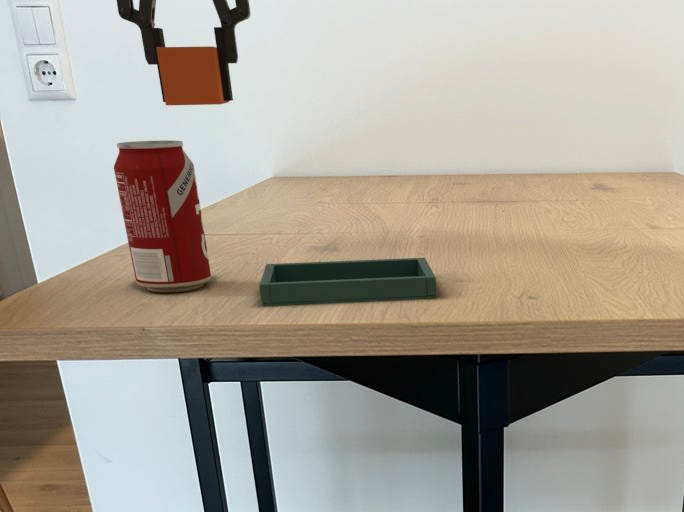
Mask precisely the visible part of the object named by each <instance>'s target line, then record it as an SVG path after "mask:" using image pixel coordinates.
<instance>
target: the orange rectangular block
mask: <svg viewBox="0 0 684 512" xmlns="http://www.w3.org/2000/svg"><path fill="white" fill-rule="evenodd" d="M156 48H157V54H158V60H159V67H160V73H161V79H162V85H163V91H164V97H165V102H164V103H165V106H207V105H224V104H228V103H230V101H224V97H223V90H222V83H221V75H220V68H219V61H218V53H217V48H216V46H213V45H212V46H165V47H156Z"/></svg>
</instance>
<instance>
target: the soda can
mask: <svg viewBox="0 0 684 512" xmlns="http://www.w3.org/2000/svg"><path fill="white" fill-rule="evenodd" d="M116 147H117V148H118V154H117V157H116V159H115V163H114V164H113V172H114V177H115V182H116V187H117V191H118V196H119V203H120V207H121V212H122V218H123V222H124V227H125V234H126V237H127V243H128V247H129V252H130V257H131V262H132V268H133V273H134V278H135V283H136V284H137V285H138V286H141V287H144V288H146V290H148V291H149V292H153V293H161V294H162V293H163V294H164V293H165V294H167V293H168V294H170V293H171V294H172V293H183V292H190V291H195V290H198V289H201V288H202V287H204V284H205V283H207V282H209V281H210V280H211V279H212V273H211V267H210V261H209V255H208V254H209V253H208V248H207V242H206V241H207V240H206V233H205V228H204V223H203V214H202V209H201V208H202V207H201V203H200V195H199V190H198V184H197V177H196V170H195V164H194V163H193V161H192V160H191V158H190V157H189V155H187V153H186V151H185V150H184V148H183V147H184V142H183V141H182V140H138V141H137V140H136V141H124V142H117V143H116Z"/></svg>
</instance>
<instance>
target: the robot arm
mask: <svg viewBox="0 0 684 512" xmlns="http://www.w3.org/2000/svg"><path fill="white" fill-rule="evenodd" d="M234 1H235V7H233V8H231V7H230V5H229V2H228V0H212V3H213V5H214V9H215V12H216V13H217V16H218V19H219V23H220V26H214V27H213V33H214V40H215V47H216V48H217V53H218V61H219V68H220V75H221V83H222V90H223V97H224V101H229V102H232V101H234V96H233V89H232V81H231V75H230V67H229V65H230V64H238V60H239V54H238V45H237V37H236V27H237V25H238V24H240V23H241V22H242V23H243V22H244V21H246V20H249V19H250V18H251V8H250V0H234ZM156 5H157V0H139V1H138V9H137V8H135V5H134V0H116V7H117V13H118V15H119V17H120V18H121V19H122V20H125V21H127V22H130V23H133V24H134V25H136V26H137V27H138V28H139V30H140V34H141V35H140V36H141V40H142V41H141V42H142V46H143V53H144V58H145V61H146V63H147V65H149V66H155V65H156V66H157V72H158V73H157V74H158V79H159V86H160V91H161V97H162V102H163V103H165V97H164V91H163V85H162V79H161V73H160V67H159V60H158V54H157V48H156V47H166V42H165V37H164V30H163V28H161V27H155V26H156V23H155V17H156V7H157V6H156Z"/></svg>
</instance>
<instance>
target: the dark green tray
mask: <svg viewBox="0 0 684 512" xmlns="http://www.w3.org/2000/svg"><path fill="white" fill-rule="evenodd" d="M258 286H259V293H260V302H261V306H262V307H279V306H281V307H282V306H299V305H300V306H301V305H322V304H324V305H325V304H346V303H366V302H367V303H368V302H387V301H389V302H390V301H408V300H409V301H410V300H412V301H413V300H431V299H433V300H434V299H437V277H436V275H435V273H434V272H433V270H432V268H431V266H430V264H429V262H428V261H427V259H426V257H405V258H381V259H358V260H357V259H356V260H355V259H354V260H335V261H334V260H333V261H307V262H289V263H288V262H284V263H281V262H280V263H266V264H265V267H264V270H263V273H262V277H261V279H260V282H259V285H258Z"/></svg>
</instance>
